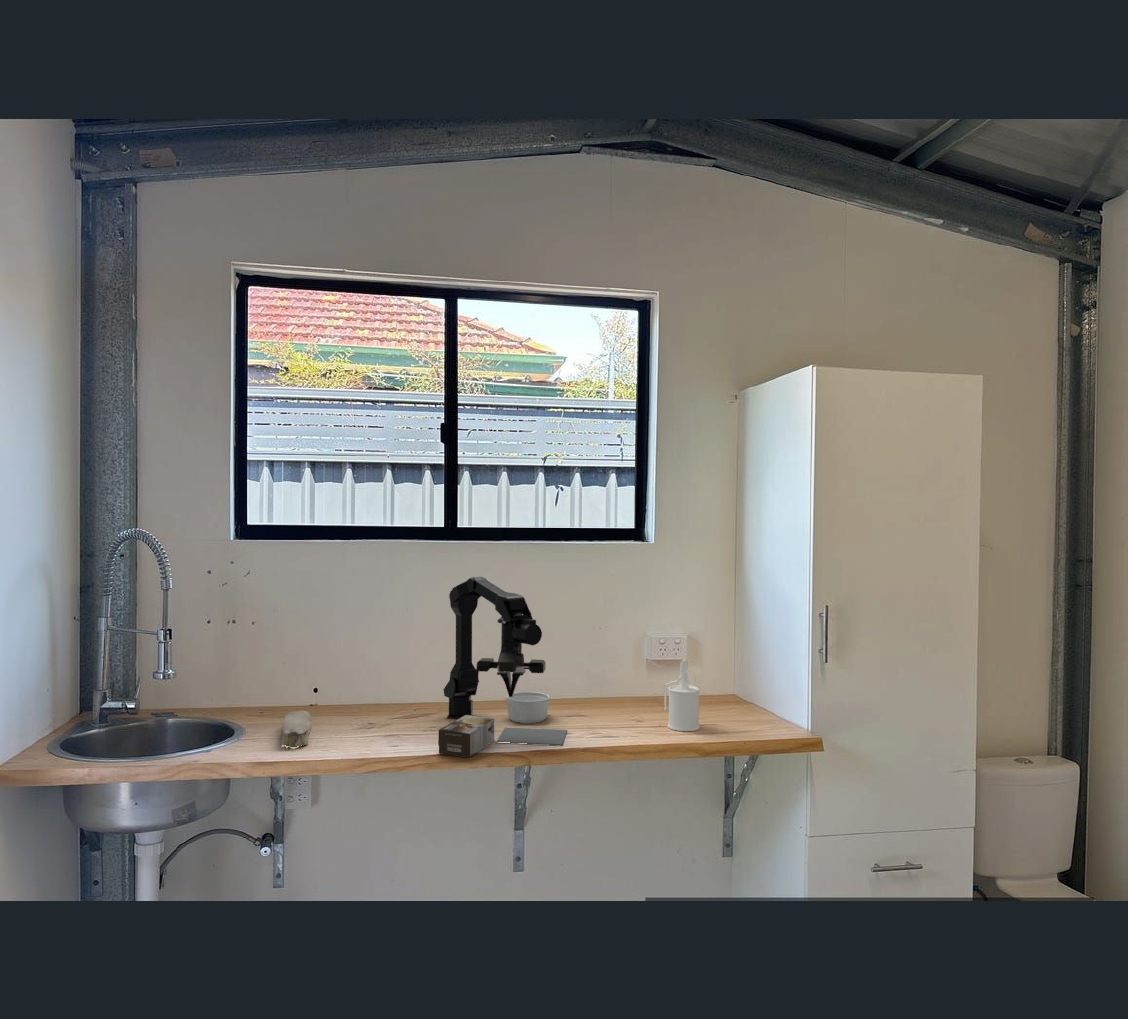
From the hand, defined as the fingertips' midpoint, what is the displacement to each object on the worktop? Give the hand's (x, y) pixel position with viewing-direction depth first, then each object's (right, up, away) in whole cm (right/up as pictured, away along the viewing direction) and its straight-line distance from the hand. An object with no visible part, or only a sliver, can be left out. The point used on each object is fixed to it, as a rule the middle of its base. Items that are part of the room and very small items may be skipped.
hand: (510, 696), depth 217 cm
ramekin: (+4, -12, +19) cm, 22 cm away
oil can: (+49, -12, +11) cm, 52 cm away
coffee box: (-8, -8, -3) cm, 12 cm away
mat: (+6, -11, -1) cm, 13 cm away
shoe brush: (-59, -11, -3) cm, 60 cm away
